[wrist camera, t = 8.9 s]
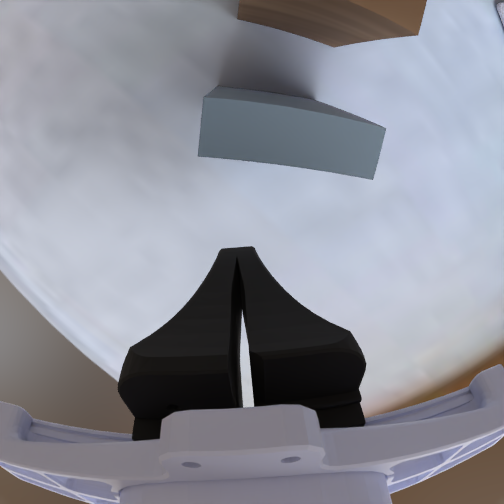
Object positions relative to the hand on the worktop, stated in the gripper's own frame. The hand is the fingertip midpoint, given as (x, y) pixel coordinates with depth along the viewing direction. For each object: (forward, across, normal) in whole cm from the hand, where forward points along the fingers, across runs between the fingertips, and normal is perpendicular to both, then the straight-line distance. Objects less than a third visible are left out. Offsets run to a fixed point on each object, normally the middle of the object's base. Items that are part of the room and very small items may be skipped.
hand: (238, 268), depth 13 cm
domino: (+6, -3, -10) cm, 12 cm away
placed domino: (+6, -2, -6) cm, 8 cm away
